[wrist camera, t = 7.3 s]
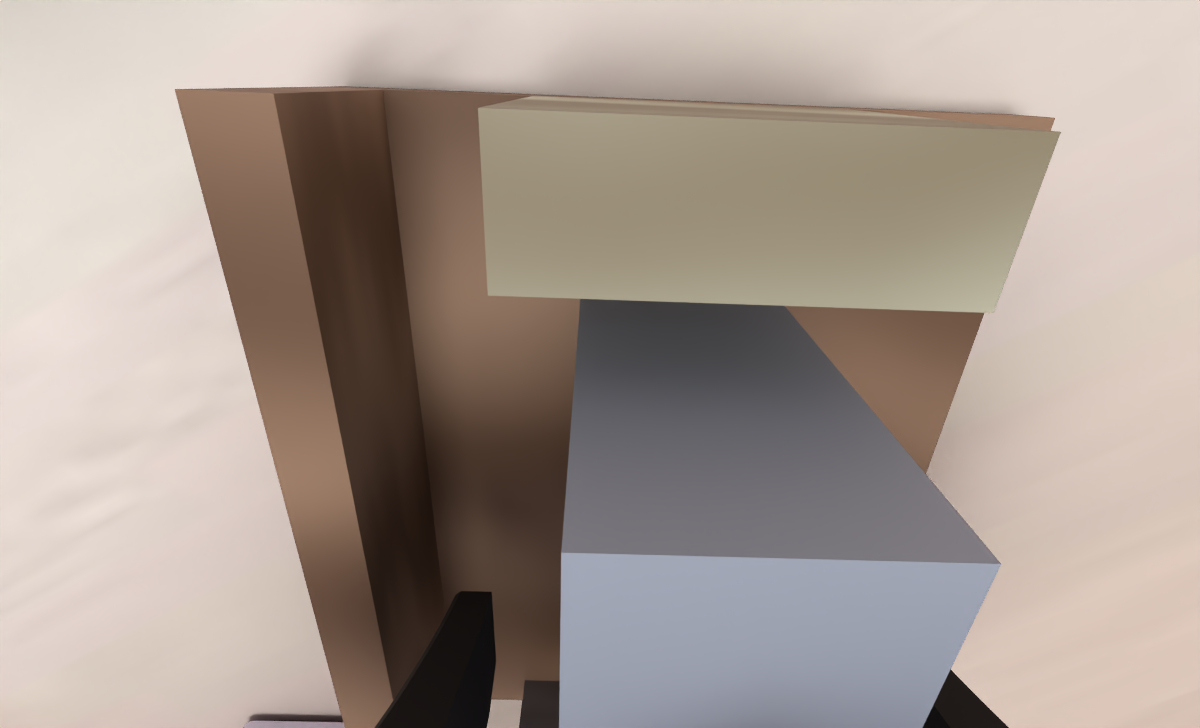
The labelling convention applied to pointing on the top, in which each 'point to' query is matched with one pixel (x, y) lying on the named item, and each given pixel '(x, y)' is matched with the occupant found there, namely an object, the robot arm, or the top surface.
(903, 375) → the shelf
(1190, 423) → the top surface
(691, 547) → the grey rectangular block
